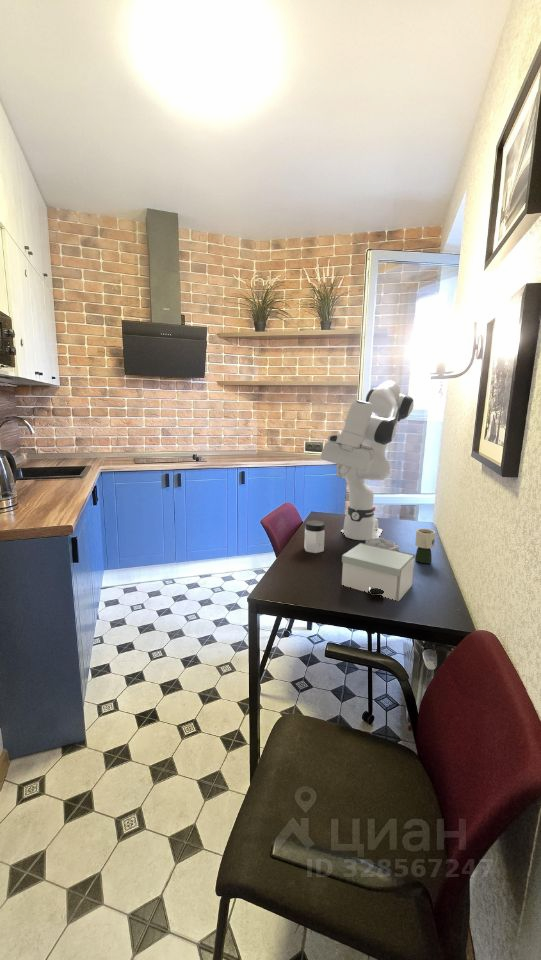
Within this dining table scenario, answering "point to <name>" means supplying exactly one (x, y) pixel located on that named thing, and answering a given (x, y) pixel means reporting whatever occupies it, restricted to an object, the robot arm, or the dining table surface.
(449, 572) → the dining table surface
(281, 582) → the dining table surface
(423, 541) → the character mug
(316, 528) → the jar
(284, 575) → the dining table surface
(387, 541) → the cat paw sculpture
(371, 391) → the robot arm
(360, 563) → the cover
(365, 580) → the channel
